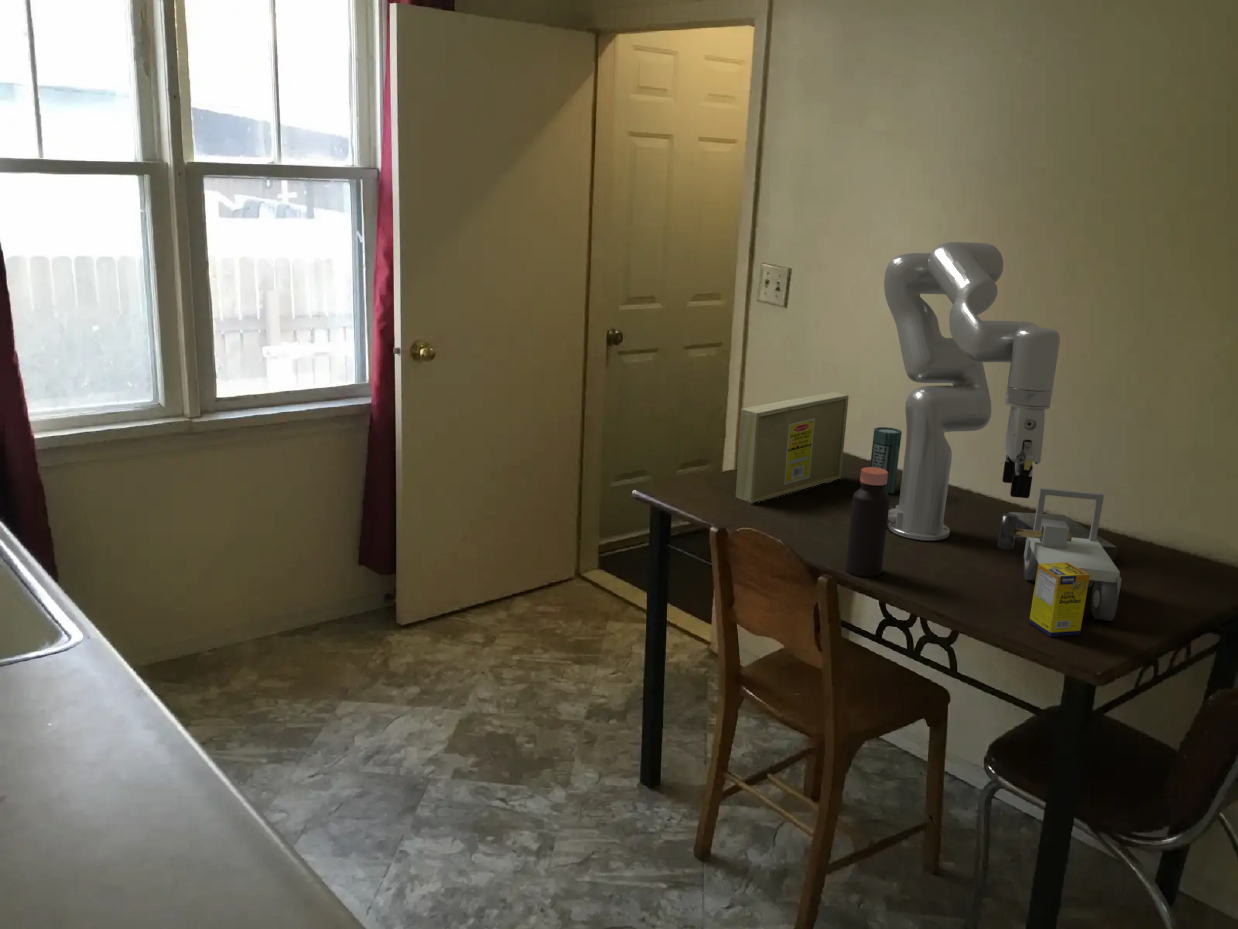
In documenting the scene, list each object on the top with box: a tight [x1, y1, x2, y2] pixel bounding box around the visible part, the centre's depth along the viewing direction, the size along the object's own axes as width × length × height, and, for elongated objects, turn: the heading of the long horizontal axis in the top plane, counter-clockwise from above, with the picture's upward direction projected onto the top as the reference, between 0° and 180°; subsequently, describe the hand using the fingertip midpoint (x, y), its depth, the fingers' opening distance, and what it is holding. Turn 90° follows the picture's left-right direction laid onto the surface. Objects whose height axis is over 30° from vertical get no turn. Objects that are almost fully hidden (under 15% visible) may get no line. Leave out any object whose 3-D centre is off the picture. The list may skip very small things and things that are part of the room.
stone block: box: [1007, 511, 1119, 564], centre depth 217 cm, size 14×20×5 cm
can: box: [869, 426, 902, 494], centre depth 250 cm, size 6×6×15 cm
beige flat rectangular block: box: [735, 391, 850, 503], centre depth 246 cm, size 35×5×22 cm, turn 133°
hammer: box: [997, 513, 1072, 550], centre depth 192 cm, size 12×3×6 cm, turn 78°
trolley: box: [1023, 487, 1123, 622], centre depth 188 cm, size 13×23×18 cm, turn 168°
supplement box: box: [1028, 562, 1090, 637], centre depth 175 cm, size 6×6×11 cm
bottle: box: [845, 466, 891, 578], centre depth 196 cm, size 7×7×20 cm
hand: (1015, 489), depth 190 cm, fingers open, 9 cm apart
